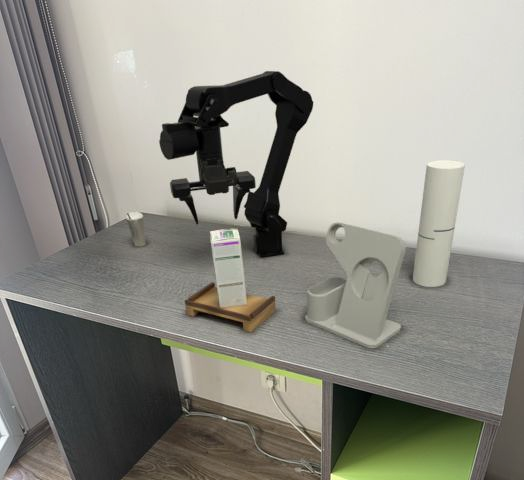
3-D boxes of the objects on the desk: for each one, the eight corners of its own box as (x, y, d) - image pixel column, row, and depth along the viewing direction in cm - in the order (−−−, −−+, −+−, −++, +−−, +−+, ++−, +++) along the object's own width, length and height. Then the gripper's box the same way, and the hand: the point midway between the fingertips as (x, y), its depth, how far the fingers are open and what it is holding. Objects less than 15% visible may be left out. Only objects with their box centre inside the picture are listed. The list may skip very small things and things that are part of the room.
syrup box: (247, 305, 100) (242, 237, 92) (218, 309, 100) (210, 240, 92) (244, 293, 105) (239, 227, 97) (216, 296, 104) (209, 230, 96)
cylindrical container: (447, 287, 108) (467, 168, 94) (413, 286, 109) (428, 168, 95) (444, 273, 113) (462, 159, 100) (411, 272, 115) (425, 160, 101)
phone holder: (300, 319, 99) (299, 232, 90) (332, 301, 105) (334, 218, 95) (373, 350, 89) (380, 255, 79) (404, 328, 94) (414, 237, 85)
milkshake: (127, 248, 138) (119, 212, 133) (136, 241, 142) (130, 206, 137) (141, 249, 137) (134, 213, 131) (151, 242, 141) (144, 207, 136)
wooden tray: (275, 311, 103) (275, 296, 101) (251, 332, 96) (249, 317, 94) (213, 296, 110) (212, 282, 108) (186, 315, 103) (184, 300, 102)
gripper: (170, 164, 99) (181, 238, 108) (259, 153, 103) (263, 226, 111) (165, 153, 109) (175, 222, 117) (247, 144, 112) (251, 212, 120)
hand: (216, 221), depth 116 cm, fingers open, 9 cm apart
